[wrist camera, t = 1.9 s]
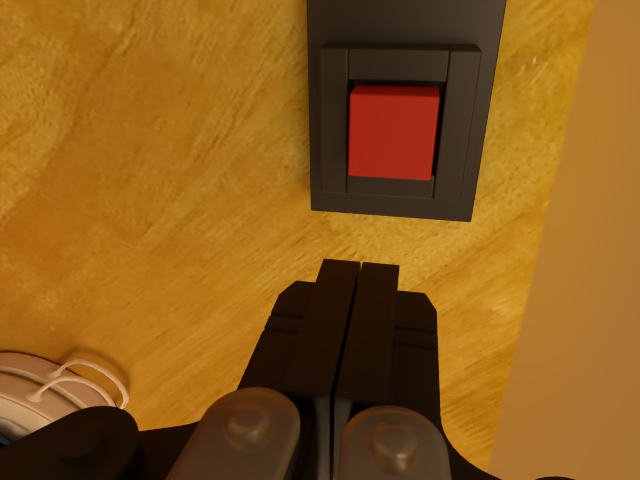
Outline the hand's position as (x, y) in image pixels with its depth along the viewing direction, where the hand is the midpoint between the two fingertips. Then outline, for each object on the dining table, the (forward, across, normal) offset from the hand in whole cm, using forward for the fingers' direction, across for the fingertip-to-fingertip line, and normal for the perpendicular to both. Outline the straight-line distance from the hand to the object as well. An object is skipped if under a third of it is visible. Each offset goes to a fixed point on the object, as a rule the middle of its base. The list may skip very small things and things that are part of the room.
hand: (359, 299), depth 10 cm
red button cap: (+13, 0, 0) cm, 13 cm away
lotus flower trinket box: (+16, +27, +27) cm, 41 cm away
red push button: (+16, 0, 0) cm, 16 cm away
